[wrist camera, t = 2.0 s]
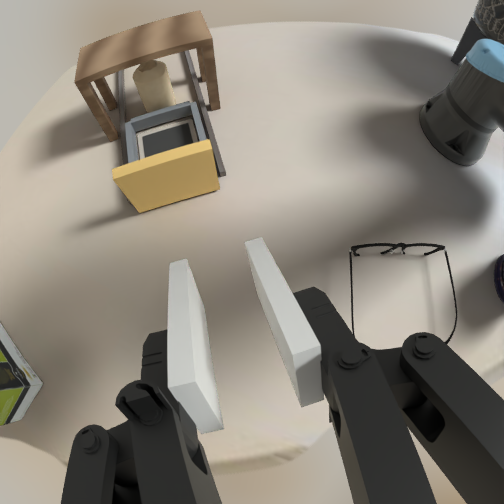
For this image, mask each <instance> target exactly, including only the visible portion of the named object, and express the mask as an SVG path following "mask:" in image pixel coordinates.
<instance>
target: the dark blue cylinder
mask: <svg viewBox="0 0 504 504" xmlns="http://www.w3.org/2000/svg"><path fill="white" fill-rule="evenodd" d="M494 281H495V287H496V290H497V293H498V295H499V297H500V299H501V301H502V302H503V303H504V254H503V255H502V256H500V257H499V259H498V260H497V262H496V265H495V270H494Z"/></svg>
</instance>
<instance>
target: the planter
mask: <svg viewBox="0 0 504 504" xmlns="http://www.w3.org/2000/svg"><path fill="white" fill-rule="evenodd" d="M473 17H474V19H473V18H472V17H471V19H470V21H469V24H468V26H467V28H466V30H465V32H464V34H463V36H462V38H461V40H460V42H459V44H458V46H457V48H456V50H455V52H454V54H453V56H452V59H451V61H452V62H454V63H455V64H457V65H458V64H459V63H460V62H461V61H462V59H463V58H464V57H465V56H466V54H467V53H468V52H469V51H470V50H471V49H472V47H473V46H474V44H475V43H476V42H477V41H478V40H480V39H491V40H494V41H496V42H499V43H501V44H503V45H504V0H479V2H478V4H477V6H476V8H475V11H474V15H473Z"/></svg>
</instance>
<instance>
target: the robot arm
mask: <svg viewBox="0 0 504 504" xmlns="http://www.w3.org/2000/svg"><path fill="white" fill-rule="evenodd" d="M420 123H421V126H422V129H423V131H424V133H425V135H426V136H427V138H428V139H429V141H430V142H431V143H432V145H433V146H434V147H435V148H436V149H437V150H438V151H439V152H440V153H441V154H443V155H444V156H445V157H446V158H448V159H450V160H451V161H453V162H455V163H457V164H460V165H466V166H469V165H473V164H475V163H476V162H477V161H478V160H479V159H480V158H481V157H482V156H483V154H484V152H485V150H486V147H487V145H488V142H489V140H490V137H491V135H492V133H493V132H494V131H495V130H496V129H497V128H498V127H499V128H500V129H501V130H502V131H503V132H504V45H503V44H501V43H499V42H496V41H494V40H491V39H480V40H478V41H477V42H476V43H475V44H474V46H473V47H472V49H471V50H470V51H469V52H468V53H467V54H466V59H465V60H464V62H463V63H462V65H461V67H460V68H459V70H458V71H457V73H456V74H455V76H454V77H453V79H452V80H451V82H450V83H449V85H448V87H447V88H446V89H445V90H443V91H442V92H440V93H439V94H437V95H436V96H434V97H433V98H431V99H429V100H428V101H427V102H426V103H425V105H424V106H423V108H422V110H421V112H420ZM244 243H245V247H246V251H247V255H248V259H249V263H250V267H251V271H252V275H253V279H254V284H255V288H256V292H257V295H258V297H259V300H260V302H261V305H262V308H263V310H264V313H265V315H266V318H267V321H268V323H269V326H270V328H271V331H272V334H273V336H274V339H275V341H276V344H277V346H278V349H279V352H280V354H281V357H282V359H283V362H284V364H285V367H286V369H287V372H288V375H289V377H290V380H291V382H292V385H293V387H294V390H295V392H296V395H297V397H298V400H299V403H300V405H301V407H304V406H307V405H310V404H313V403H316V402H319V401H321V400H324V394H325V396H326V398H327V401H328V403H329V423H330V422H332V423H333V427H334V430H335V434H336V438H337V441H338V445H339V449H340V452H341V456H342V460H343V463H344V467H345V471H346V475H347V479H348V483H349V486H350V490H351V494H352V498H353V502H354V504H437V503H436V500H435V498H434V495H433V492H432V489H431V487H430V484H429V481H428V478H427V476H426V473H425V471H424V468H423V465H422V463H421V460H420V457H419V455H418V452H417V450H416V447H415V445H414V442H413V440H412V437H411V435H410V433H409V430H408V428H409V429H410V431H411V432H412V433H413V434H414V436H415V437H416V438H417V439H418V441H419V442H420V443H421V445H422V446H423V447H424V448H425V450H426V451H427V452H428V454H429V455H430V456H431V457H432V459H433V460H434V461H435V462H436V464H437V465H438V466H439V468H440V469H441V470H442V472H443V473H444V474H445V476H446V477H447V478H448V479H449V481H450V482H451V483H452V485H453V486H454V487H455V489H456V490H457V491H458V493H459V494H460V495H461V496H462V498H463V499H464V500H465V502H466V503H467V504H504V400H503V399H502V398H501V397H500V396H499V395H498V394H497V393H496V392H495V391H494V390H493V389H492V388H491V387H490V386H489V385H488V384H487V383H486V382H485V381H484V380H483V379H482V378H481V377H480V376H479V375H478V374H477V373H476V372H475V371H474V370H473V369H472V368H471V367H470V366H469V365H468V364H467V363H466V362H465V361H463V360H462V359H461V358H460V357H459V356H458V355H457V354H456V353H455V352H454V351H453V350H452V349H451V348H450V347H449V346H448V345H446V344H445V343H444V342H443V341H442V340H441V339H440V338H438V337H437V336H435V335H434V334H430V333H426V332H422V333H415V334H413V335H410V336H409V337H408V338H407V339H406V340H405V341H404V343H403V346H402V347H399V348H392V349H384V350H376V349H370V347H368V346H366V345H365V344H363V343H359V342H358V341H357V340H356V338H355V337H354V335H353V334H352V332H351V331H350V329H349V328H348V326H347V325H346V323H345V322H344V320H343V319H342V317H341V316H340V314H339V313H338V312H337V311H336V309H335V307H334V306H333V304H331V301H330V300H329V298H328V297H327V295H326V294H325V293H324V292H322V291H321V290H319V289H317V288H316V287H311V288H308V289H305V290H302V291H298V292H295V293H292V291H291V290H290V288H289V286H288V284H287V282H286V280H285V279H284V277H283V275H282V273H281V271H280V270H279V268H278V266H277V264H276V262H275V260H274V259H273V257H272V255H271V253H270V251H269V250H268V248H267V246H266V244H265V242H264V241H263V239H262V237H260V238H257V239H253V240H249V241H246V242H244ZM142 356H143V358H142V369H141V380H137V381H134V382H132V383H129V384H127V385H126V386H125V387H124V388H123V389H122V390H121V391H120V393H119V394H118V396H117V398H116V404H115V405H116V406H117V408H118V409H119V410H120V411H121V412H122V413H123V414H124V415H125V416H126V417H127V418H128V419H129V420H127V421H126V422H124V423H122V424H120V425H118V426H116V427H113V428H111V429H109V430H107V431H106V430H105V429H104V428H103V427H101V426H99V425H89V426H86V427H84V428H83V429H81V430H80V431H79V432H78V433H77V435H76V436H75V439H74V441H73V445H72V449H71V454H70V458H69V463H68V468H67V473H66V477H65V483H64V488H63V494H62V500H61V504H222V502H221V500H220V497H219V494H218V491H217V488H216V485H215V482H214V479H213V476H212V473H211V470H210V467H209V464H208V461H207V458H206V455H205V451H204V448H203V446H202V444H201V443H200V441H199V440H198V436H197V429H198V430H199V431H200V433H201V434H203V433H208V432H213V431H218V430H222V429H224V426H223V421H222V415H221V410H220V404H219V398H218V393H217V387H216V381H215V375H214V368H213V362H212V356H211V349H210V342H209V336H208V329H207V322H206V314H205V307H204V305H203V302H202V299H201V297H200V294H199V291H198V289H197V286H196V283H195V280H194V278H193V275H192V272H191V269H190V267H189V264H188V261H187V258H186V259H182V260H179V261H175V262H172V263H170V267H169V290H168V329H167V330H163V331H159V332H155V333H151V334H149V336H148V337H147V339H146V341H145V343H144V345H143V355H142ZM196 427H197V428H196ZM407 427H408V428H407Z"/></svg>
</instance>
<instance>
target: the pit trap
mask: <svg viewBox="0 0 504 504" xmlns="http://www.w3.org/2000/svg"><path fill="white" fill-rule="evenodd" d="M137 137H138V146H139V154H140V159H143V158H146V157H149V156H152V155H155V154H159V153H162V152H165V151H168V150H172V149H175V148H178V147H182V146H185V145H189V144H192V143H196V142H198V138H197V134H196V131H195V127H194V123H193V119H192V118H191V119H188V120H184V121H180V122H177V123H174V124H170V125H167V126H164V127H160V128H157V129H154V130H151V131H148V132H145V133H142V134H139V135H137Z"/></svg>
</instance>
